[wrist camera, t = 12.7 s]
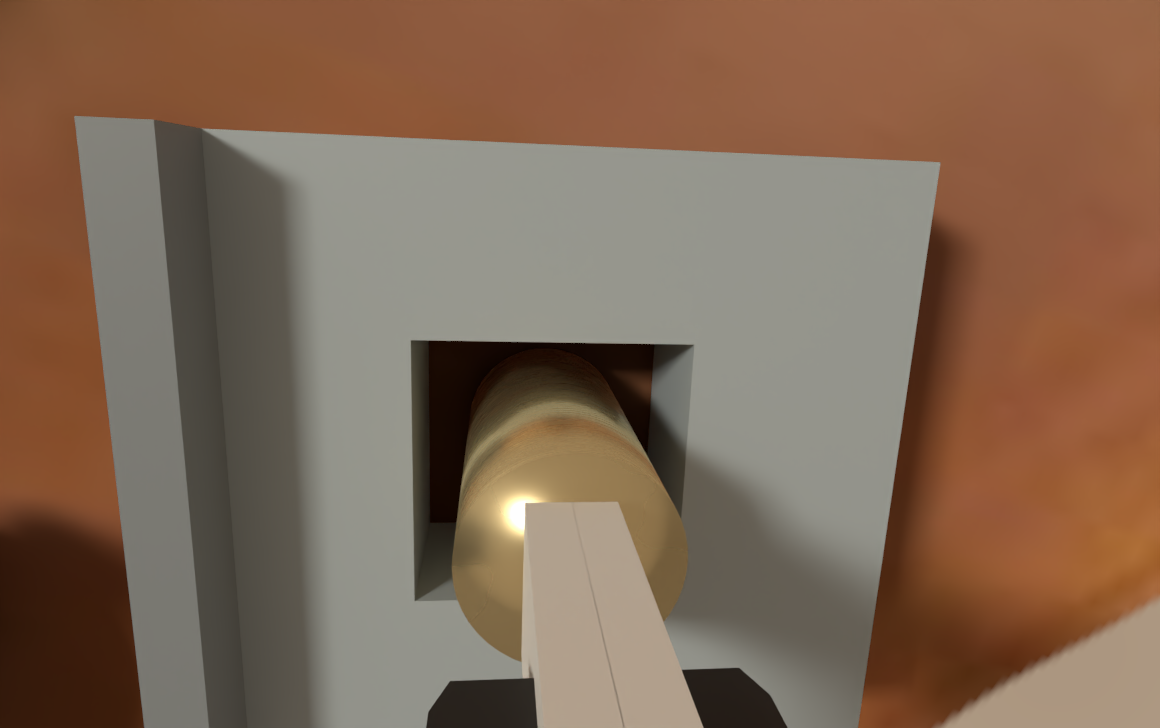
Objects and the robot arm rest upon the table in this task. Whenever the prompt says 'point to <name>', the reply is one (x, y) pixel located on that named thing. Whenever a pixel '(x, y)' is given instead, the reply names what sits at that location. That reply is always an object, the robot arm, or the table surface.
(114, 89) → the table surface
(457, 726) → the robot arm
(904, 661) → the table surface
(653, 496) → the brass cylinder
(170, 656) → the jig
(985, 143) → the table surface
